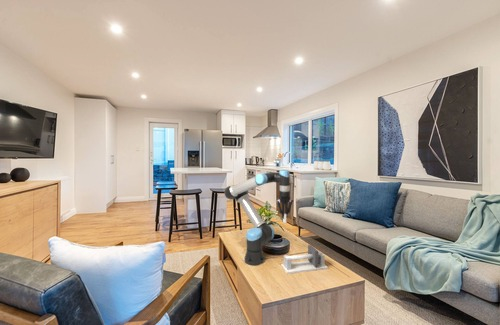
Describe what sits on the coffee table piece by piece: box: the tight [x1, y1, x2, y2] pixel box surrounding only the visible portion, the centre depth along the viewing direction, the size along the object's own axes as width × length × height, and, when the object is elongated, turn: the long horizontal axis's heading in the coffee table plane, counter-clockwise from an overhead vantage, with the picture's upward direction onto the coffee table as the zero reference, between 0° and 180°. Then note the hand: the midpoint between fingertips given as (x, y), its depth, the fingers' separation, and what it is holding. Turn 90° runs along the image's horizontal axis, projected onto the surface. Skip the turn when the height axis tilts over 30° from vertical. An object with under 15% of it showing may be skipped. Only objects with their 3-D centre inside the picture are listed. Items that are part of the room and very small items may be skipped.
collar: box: [307, 244, 319, 267], centre depth 166 cm, size 2×11×11 cm, turn 12°
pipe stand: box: [280, 251, 329, 275], centre depth 165 cm, size 30×12×9 cm, turn 102°
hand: (284, 222), depth 173 cm, fingers closed
